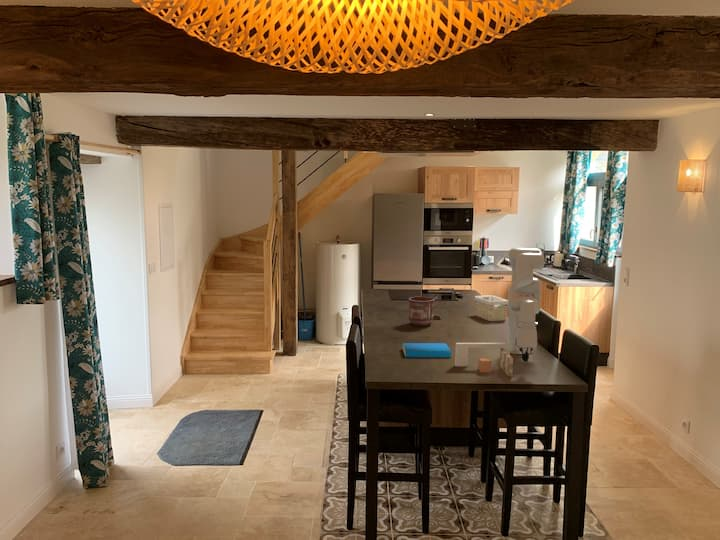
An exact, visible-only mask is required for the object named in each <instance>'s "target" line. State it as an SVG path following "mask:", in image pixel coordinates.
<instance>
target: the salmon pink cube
mask: <svg viewBox="0 0 720 540" xmlns="http://www.w3.org/2000/svg"><path fill="white" fill-rule="evenodd" d="M477 361H478V363H477V370H478V369H479V370H480V371H479V370H478V371H479V372H480V373H481V372H491V373H492V360H491V359H490V358H489V357H478V360H477Z"/></svg>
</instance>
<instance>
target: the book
mask: <svg viewBox="0 0 720 540" xmlns="http://www.w3.org/2000/svg"><path fill="white" fill-rule="evenodd" d="M402 351H403V354H404V357H405V358H452V357H451V356H452V350H451V349H450V347H449V346H448V344H447V343H441V342H440V343H439V342H437V343H436V342H434V343H433V342H430V343H428V342H427V343H426V342H422V343H421V342H417V343H416V342H413V343H411V342H407V343H406V342H405V343H404V342H403V343H402Z"/></svg>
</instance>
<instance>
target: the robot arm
mask: <svg viewBox="0 0 720 540" xmlns="http://www.w3.org/2000/svg"><path fill="white" fill-rule="evenodd" d="M507 256H508V261H509V264H510V266H511V284H510V286H509V288H508V293H507V298H508V299H507V300H508V308H507V312H508V325H507V326H508V329H507V330H508V331H507V343H510V354H513V355H521V359H522V361H523V362H525V363H526V362H529V359H530V354H531V352H533V351H535V350H537V349H538V347H537V346H538V333H537V327H536V326H538V325H539V323H538V321H537V322H536V314H539V312H540V310H541V300H542V299H541V296H542V283H541V280H540V279H539V278H536V277H534V270H543V269H544V267H545V264H546V263H545V255H544V253H543V251H542V250H541V248H532V247H531V248H530V247H529V248H528V247H527V248H526V247H514V248H511V249H509V250H508V255H507ZM515 295H516V296H515ZM517 295H519V296H517ZM520 295H524V296H520ZM526 295H528V296H526ZM529 295H530V296H529Z"/></svg>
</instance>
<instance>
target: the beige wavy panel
mask: <svg viewBox="0 0 720 540" xmlns="http://www.w3.org/2000/svg"><path fill="white" fill-rule="evenodd" d="M499 350H500V351H499V353H500V355H499V368H501V370H503V372H504V373H505V374H506V375H507V376H508V377H513V372H514V371H513V370H514V369H513V368H514V367H513V365H514V358H513V357H512V356H511V354H510V355H509V354H508V353H507V352H506V351H505V350H504V349H503V348H499Z"/></svg>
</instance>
